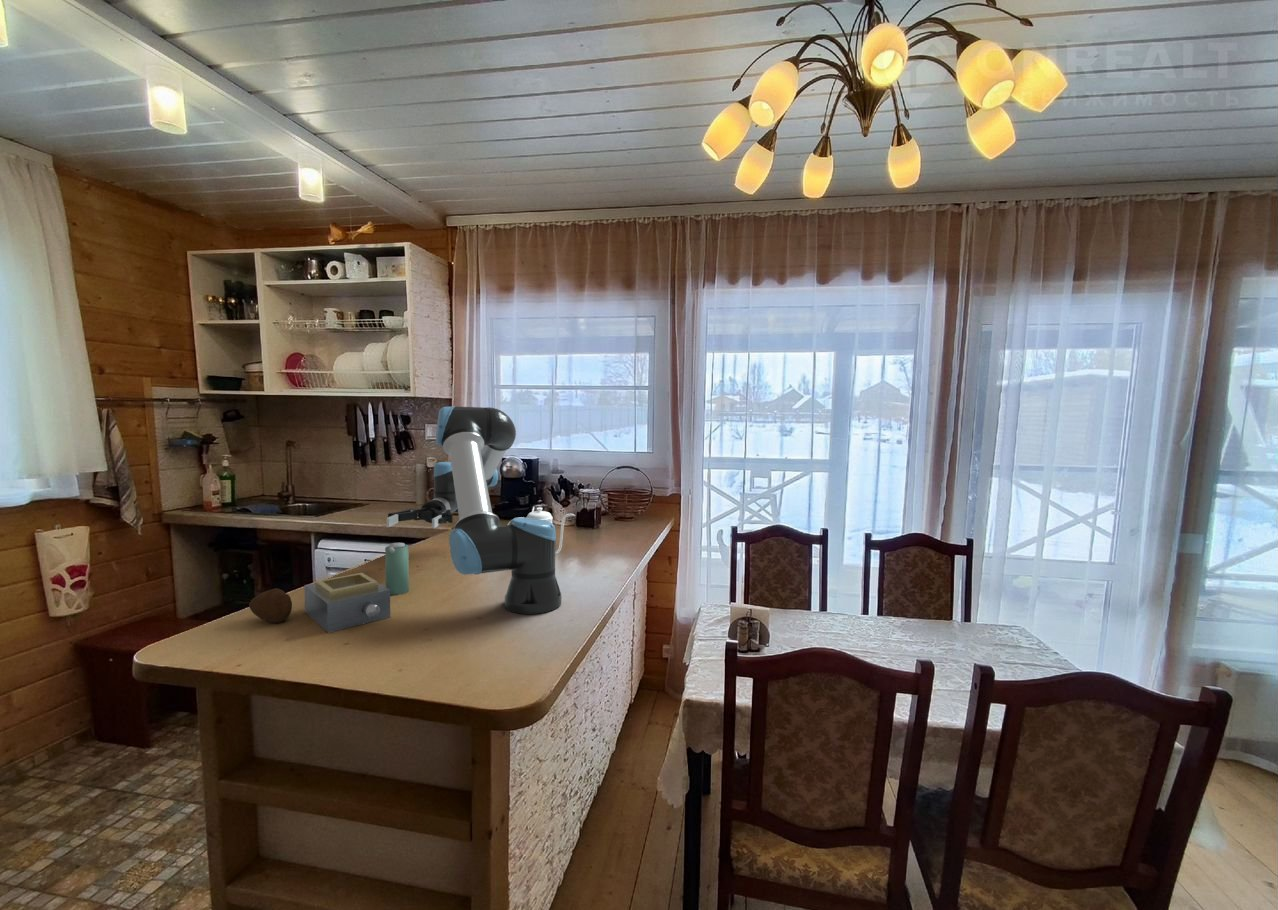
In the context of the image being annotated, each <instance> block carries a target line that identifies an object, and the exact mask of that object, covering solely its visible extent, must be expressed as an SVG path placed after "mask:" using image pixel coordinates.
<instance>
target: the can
mask: <svg viewBox="0 0 1278 910" xmlns="http://www.w3.org/2000/svg"><path fill="white" fill-rule="evenodd" d="M384 549H385V550H384V551H385V552H384V553H385V554H384V555H385V556H384V557H385V558H384V559H385V564H384V565H385V587H386V588H388V589H390V596H398V595H397V594H401V595H403V593H404V594H407V593H409V591H410V586H409V585H410V576H409V573H410V572H409V571H410V569H409V563H410V562H409V560H410V559H409V554H410V553H409V545H407V544H405V543H404V542H393V543H389V544H388V545H387V546H385V548H384ZM406 592H407V593H406Z"/></svg>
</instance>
